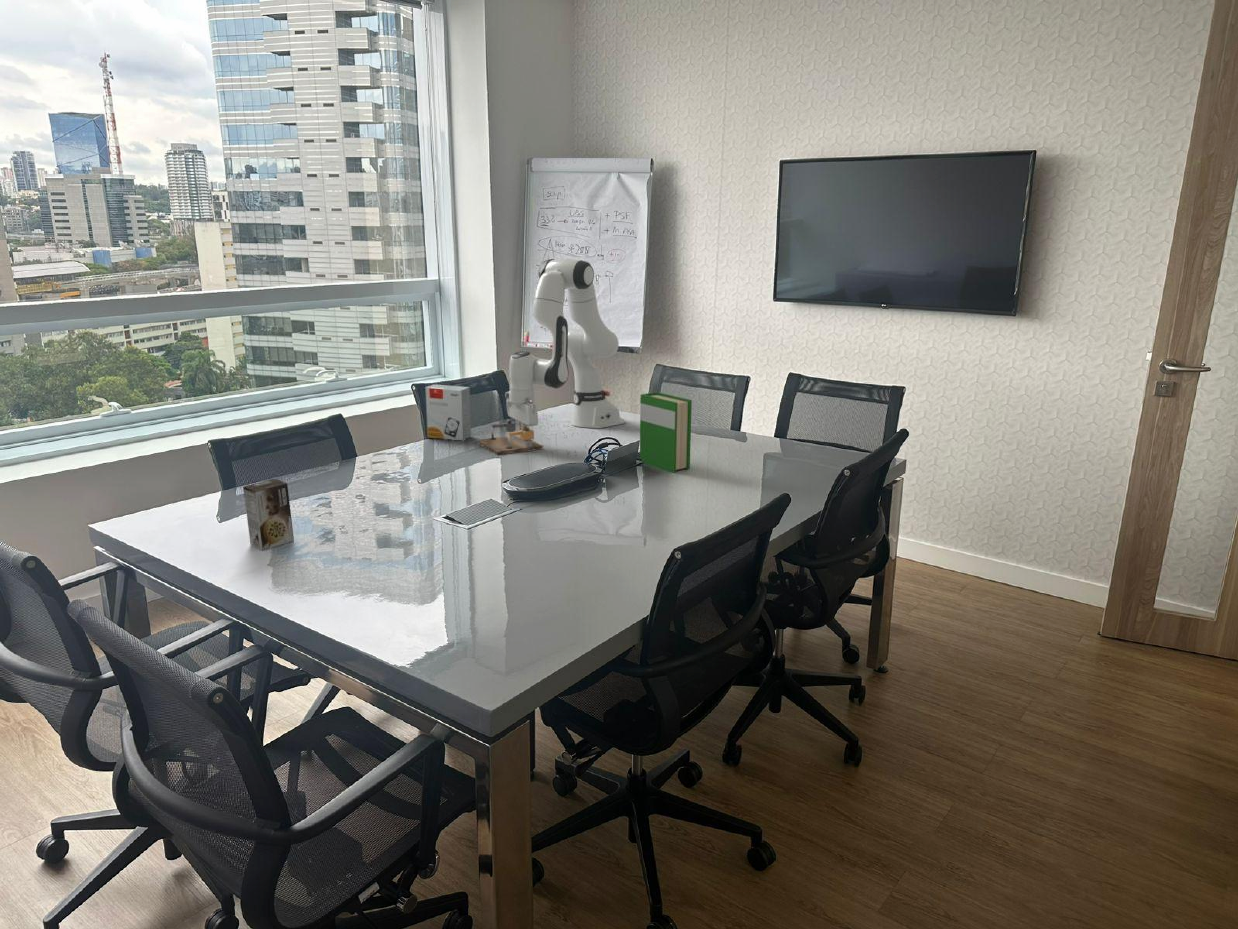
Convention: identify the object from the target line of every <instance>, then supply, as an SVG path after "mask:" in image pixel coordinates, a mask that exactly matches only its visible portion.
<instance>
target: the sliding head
mask: <svg viewBox="0 0 1238 929" xmlns="http://www.w3.org/2000/svg"><path fill="white" fill-rule="evenodd" d="M534 432H535V431H534V430H533V429H530V428H529V427H527V428H524V430H520V431H519V430H518V431H515V432H509V433H508V446H509V447H510V446H511V444H510V436H514V435H520V439H522V440H534V438H535V433H534Z"/></svg>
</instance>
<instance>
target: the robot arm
mask: <svg viewBox="0 0 1238 929" xmlns="http://www.w3.org/2000/svg"><path fill="white" fill-rule="evenodd" d="M594 278H595V270H594V268H593V266H592V264H590V262H588V261H586V260H581V259H579V260H578V259H570V258H562V259H558V258H556V259H554V258H551V259H550V258H549V259H545V260H544V261H543V262H542V263H541V264H540V266H539V268H538V279H539V280H538V283H537V286H536V290H535V293H534V297H533V298H534V299H533V305H532V315H533V317H534V319H535V320H536V321H537V322H538V323H539V325H541V326H543V327H544V328H546V329H547V330H548V331H549V332H550V334H551V336H552V355H551V359H545V358H540V357H537V356H534V355H533V354H532V352H531V351H527V350H521V351H515V352H513V353H512V354H511V355H510V358H509V363H508V365H509V366H508V367H509V368H508V369H509V370H508V375H509V376H508V377H509V381H510V385H509V391H506V392H505V394H504V395H505V396H504V397H505V399H506V411H507V412H506V413H507V416H508V417H509V418H512V419H513V420H515V421H516V422H517V426H518V431H520V430H524V428H529V427H534V426H538V423H539V416H538V415H539V413H538V408H537V405H536V404H535V403H534V401H535V386H534V385H537V386H539V385H540V386H544V387H546V386H547V387H550V388H552V389H559V388H561V387H563V386H564V385H565V384H566V383H567V381H568V379H569V373H570V371H569V366H568V361H569V362H570V364H571V366H572V370H573V375H574V391H573V403H574V405H573V406H574V408H573V414H572V420H571V422H570V424H571V425H572V426H574V427H578V428H592V429H602V428H608V427H612V426H618V425H623V424H625V423H626V420H625V419H624V418H622V417H620V410H619V408H618V407H617V406H616V405H615V404H614V403H612V402H611V401H610V400H608V399H607V398H606V397H610V396H611V391H608V390H604V389H603V388H602V387H603V386H602V385H603V383H602V382H603V380H602V379H603V373H602V370H601V369H600V368H599V367H598V366H596V365H595V364H594V363H593V362H592V361H591V358H597V359H599V358H600V359H603V358H610V357H613V356H614V355H615V354H616V353H617V352H618V349H619V345H620V344H619V338H618V336H617V335H616V334H615V333H614V332H613V331H611V330H610V329H609V328H608V327H607V326H606V324H605V323H604V321H603V320H602V318H601V316H600V313H599V308H598V303H597V296H596V289H595V285H594ZM566 292H567V293H566ZM565 295H567V302H568V309H569V315H570V318H571V320H572V321H573V322H574V323H575V324H577V325H579V327H580V328H569V325H568V321H567V319H566V318H565V316H564V303H565V297H566V296H565Z"/></svg>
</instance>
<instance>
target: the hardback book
mask: <svg viewBox="0 0 1238 929" xmlns="http://www.w3.org/2000/svg"><path fill="white" fill-rule="evenodd" d="M639 400H640V408H639V410H640V412H639V413H640V417H639V419H640V421H639V423H640V425H639V460H640V459H641V460H642V462H644V463H643V464H645V465H649V466H651V467H653V468H658V469H660V470H663V471H665V472H669V473H673V474H676V473H677V470H682V469H684V470H690V469H691V445H692V444H691V443H692V442H691V440H692V436H691V435H692V434H691V433H692V409H693V406H692V402H693V400H692V399H689V398H684V397H680V396H676V395H671V394H666V393H663V392H658V391H655V392H649V393H642V394H640V399H639ZM642 462H641V463H642Z"/></svg>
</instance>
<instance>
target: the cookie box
mask: <svg viewBox="0 0 1238 929" xmlns="http://www.w3.org/2000/svg"><path fill="white" fill-rule="evenodd" d="M243 496H244V505H245V511H246V512H245V513H246V519H247V526H248V535H249V543H250V544H249V545H250V546H251V545H252V547H254V548H255V549H258V550H260V551H262V552H263V551H267V550H269V549H272V548H275V547H278V546H282V545H284V544H288V543H291V542H294V541H295V538H294V537H295V536H294V530H293V529H294V528H293V520H292V512H291V503H290V496H289V486H288V483H287V482H284V481H282V480H280V479H277V478H272V479H268V480H263V481H260V482H257V483H253V484H248V485H244V486H243Z"/></svg>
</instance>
